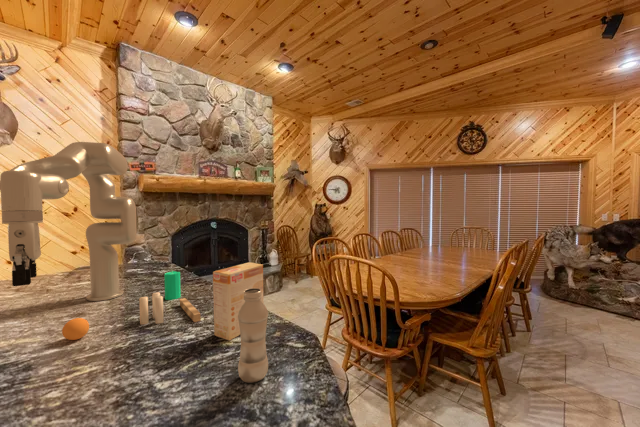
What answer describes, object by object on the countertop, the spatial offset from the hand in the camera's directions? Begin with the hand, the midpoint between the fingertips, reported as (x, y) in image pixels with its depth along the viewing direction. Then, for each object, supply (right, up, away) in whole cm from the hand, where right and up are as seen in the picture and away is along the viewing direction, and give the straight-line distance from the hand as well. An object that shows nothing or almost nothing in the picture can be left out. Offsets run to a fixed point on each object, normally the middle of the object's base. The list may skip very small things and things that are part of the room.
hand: (25, 281), depth 75 cm
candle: (+17, -17, +43) cm, 49 cm away
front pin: (+21, -18, +18) cm, 33 cm away
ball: (+8, -16, +7) cm, 19 cm away
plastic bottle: (+64, -19, -12) cm, 68 cm away
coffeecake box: (+54, -18, +13) cm, 58 cm away
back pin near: (+26, -18, +18) cm, 36 cm away
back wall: (+32, -18, +26) cm, 45 cm away
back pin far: (+22, -18, +22) cm, 36 cm away
